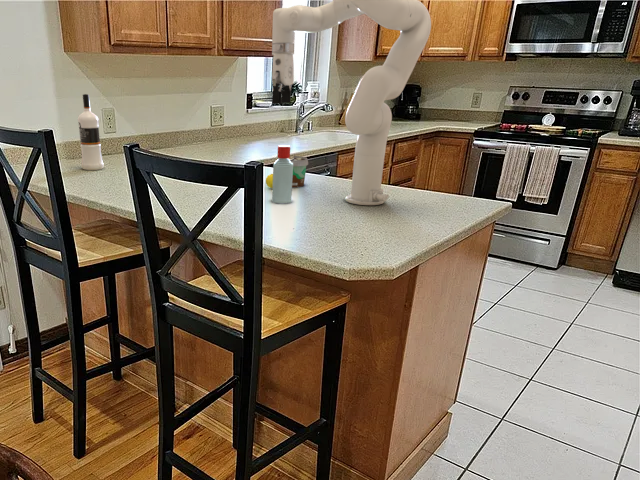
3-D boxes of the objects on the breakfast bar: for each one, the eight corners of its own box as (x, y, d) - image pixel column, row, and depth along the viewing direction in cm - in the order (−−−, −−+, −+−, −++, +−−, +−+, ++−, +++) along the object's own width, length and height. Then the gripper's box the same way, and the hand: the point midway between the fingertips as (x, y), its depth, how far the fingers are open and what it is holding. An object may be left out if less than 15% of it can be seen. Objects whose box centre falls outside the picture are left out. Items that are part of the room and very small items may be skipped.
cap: (292, 157, 168) (292, 146, 167) (283, 158, 166) (283, 147, 165) (284, 156, 171) (284, 144, 170) (275, 157, 169) (275, 145, 168)
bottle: (295, 201, 174) (298, 147, 167) (280, 204, 170) (283, 149, 163) (282, 198, 179) (284, 145, 172) (268, 200, 175) (269, 146, 168)
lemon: (262, 187, 195) (262, 172, 192) (274, 186, 197) (274, 171, 195) (272, 191, 189) (272, 176, 187) (284, 189, 191) (285, 174, 189)
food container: (305, 189, 193) (307, 161, 189) (288, 188, 194) (290, 160, 190) (308, 182, 204) (310, 156, 200) (292, 181, 205) (293, 155, 201)
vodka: (105, 169, 224) (98, 94, 212) (83, 171, 220) (75, 94, 208) (102, 166, 231) (95, 93, 219) (80, 167, 228) (72, 93, 216)
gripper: (285, 48, 170) (283, 104, 176) (301, 50, 184) (299, 102, 191) (263, 48, 172) (262, 104, 179) (281, 50, 187) (279, 101, 194)
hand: (281, 103), depth 185 cm, fingers open, 9 cm apart
